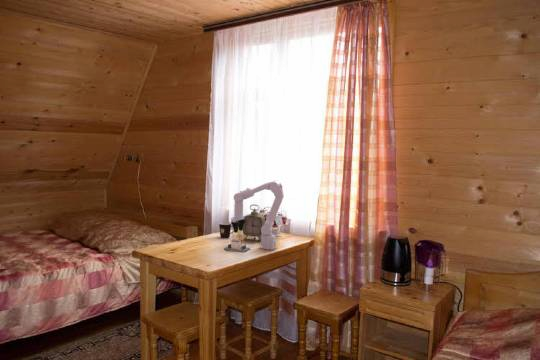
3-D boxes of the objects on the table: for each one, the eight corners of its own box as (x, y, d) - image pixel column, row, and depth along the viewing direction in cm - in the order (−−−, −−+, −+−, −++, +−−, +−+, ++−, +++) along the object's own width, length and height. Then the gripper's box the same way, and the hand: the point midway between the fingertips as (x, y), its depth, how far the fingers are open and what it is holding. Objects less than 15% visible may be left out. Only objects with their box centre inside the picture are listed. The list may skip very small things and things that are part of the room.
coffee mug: (216, 236, 321) (216, 223, 320) (226, 235, 326) (227, 221, 325) (225, 240, 311) (225, 225, 310) (235, 238, 317) (236, 224, 316)
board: (250, 249, 288) (250, 244, 288) (244, 252, 279) (244, 247, 279) (230, 246, 293) (230, 242, 292) (223, 249, 284) (224, 245, 284)
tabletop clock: (241, 240, 312) (242, 204, 310) (246, 237, 321) (247, 202, 318) (261, 242, 308) (262, 206, 306) (265, 239, 317) (266, 204, 314)
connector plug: (241, 247, 287) (241, 239, 287) (238, 249, 283) (238, 241, 283) (234, 246, 289) (234, 239, 288) (231, 248, 285) (231, 240, 285)
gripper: (237, 208, 303) (237, 228, 304) (228, 212, 289) (227, 232, 291) (247, 209, 300) (246, 229, 302) (238, 213, 287) (237, 234, 288)
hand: (238, 231), depth 296 cm, fingers open, 7 cm apart
